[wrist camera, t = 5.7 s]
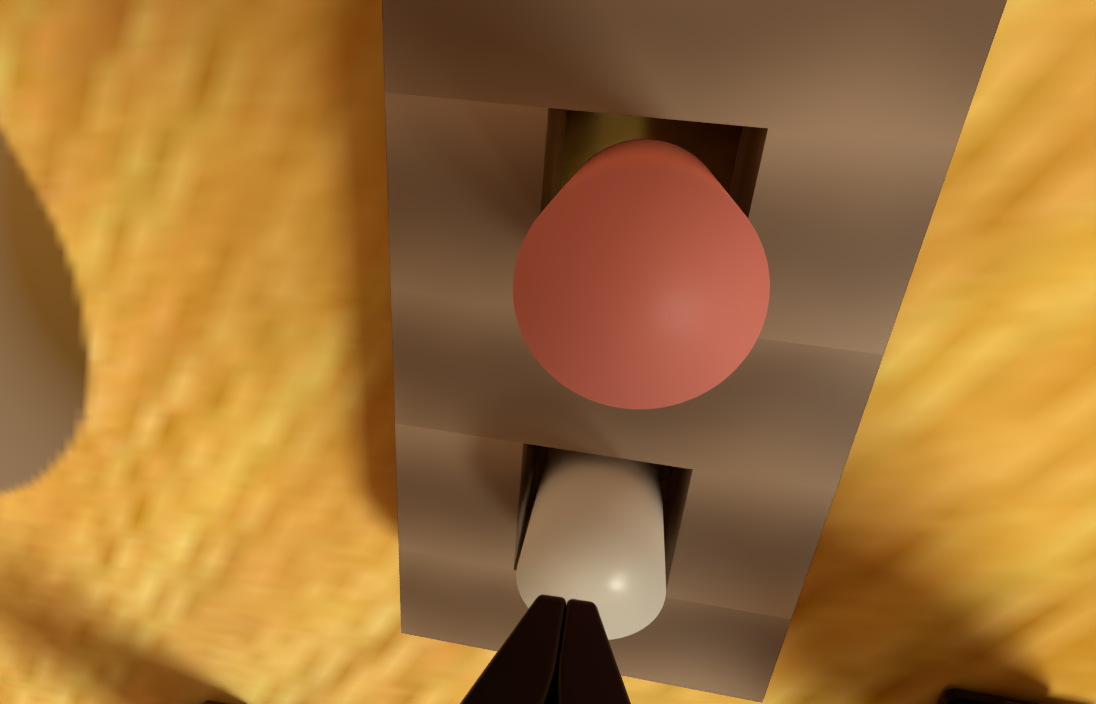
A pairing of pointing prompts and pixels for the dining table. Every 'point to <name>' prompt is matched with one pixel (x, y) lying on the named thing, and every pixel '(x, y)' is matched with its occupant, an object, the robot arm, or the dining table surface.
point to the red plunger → (641, 279)
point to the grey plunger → (597, 538)
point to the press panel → (780, 350)
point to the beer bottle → (209, 703)
